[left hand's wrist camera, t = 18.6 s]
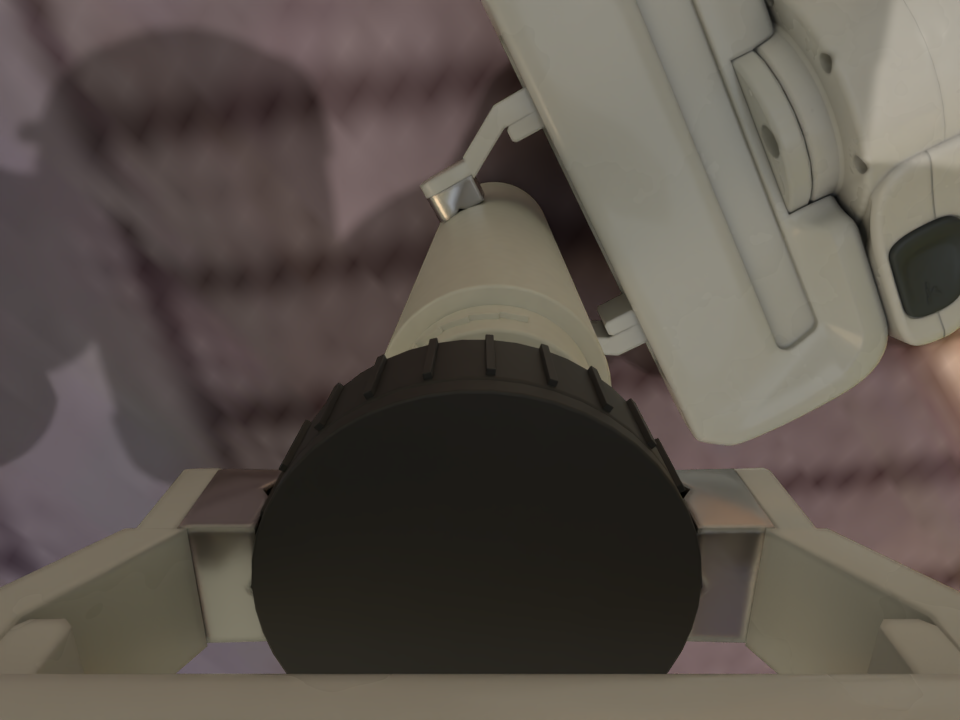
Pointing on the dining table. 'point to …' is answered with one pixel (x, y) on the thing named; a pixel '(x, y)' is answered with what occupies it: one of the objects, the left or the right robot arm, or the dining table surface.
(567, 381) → the lid
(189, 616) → the left robot arm
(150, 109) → the dining table surface
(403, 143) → the dining table surface
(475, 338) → the cream cylinder
